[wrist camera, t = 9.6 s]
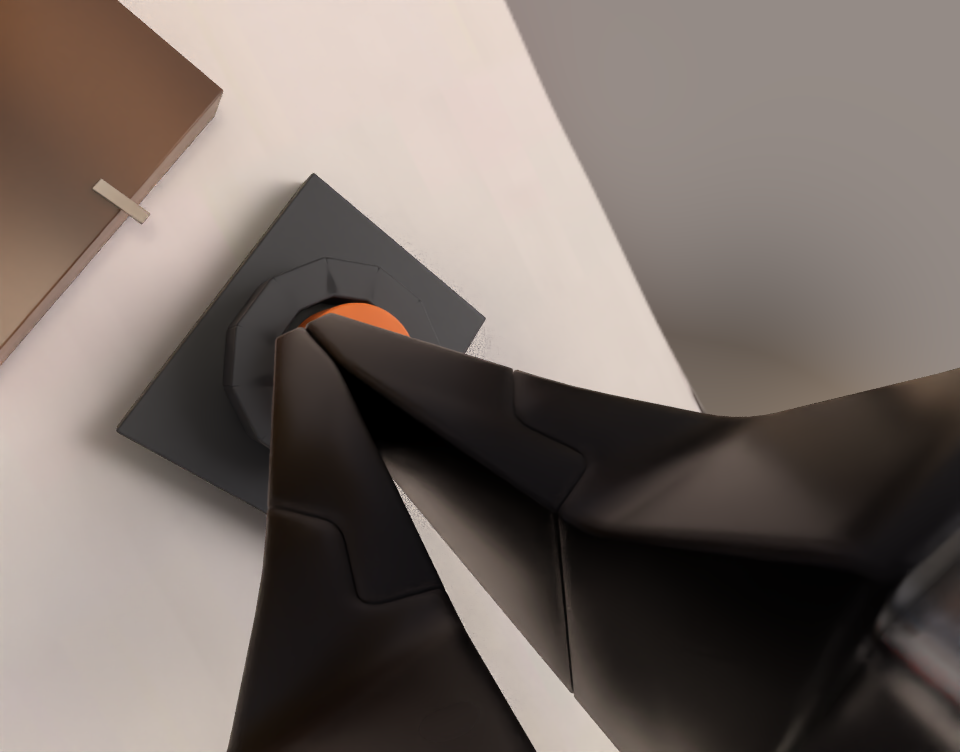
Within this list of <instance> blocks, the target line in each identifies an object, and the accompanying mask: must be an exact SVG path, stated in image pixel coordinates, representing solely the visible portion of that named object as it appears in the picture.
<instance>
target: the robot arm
mask: <svg viewBox="0 0 960 752" xmlns="http://www.w3.org/2000/svg"><path fill="white" fill-rule="evenodd" d="M392 478H393V479H394V481H395V482H396V483H397V484H398V486H399V487H400V488H401V489H402V490H403V492H404V493H405V494H406V495H407V496H408V498H409V499H410V500H411V501H412V502H413V504H414V505H415V506H416V507H417V508H418V510H419V511H420V512H421V513H422V514H423V516H424V517H425V518H426V519H427V520H428V522H429V523H430V524H431V525H432V526H433V528H434V529H435V530H436V531H437V532H438V534H439V535H440V536H441V537H442V538H443V540H444V541H445V542H446V543H447V544H448V546H449V547H450V548H451V549H452V550H453V552H454V553H455V554H456V555H457V556H458V558H459V559H460V560H461V561H462V562H463V564H464V565H465V566H466V567H467V568H468V570H469V571H470V572H471V573H472V574H473V576H474V577H475V578H476V579H477V580H478V582H479V583H480V584H481V585H482V586H483V588H484V589H485V590H486V591H487V593H488V594H489V595H490V596H491V597H492V599H493V600H494V601H495V602H496V603H497V605H498V606H499V607H500V608H501V609H502V611H503V612H504V613H505V614H506V615H507V617H508V618H509V619H510V620H511V621H512V623H513V624H514V625H515V626H516V627H517V629H518V630H519V631H520V632H521V633H522V635H523V636H524V637H525V638H526V639H527V641H528V642H529V643H530V644H531V645H532V647H533V648H534V649H535V650H536V651H537V653H538V654H539V655H540V656H541V657H542V659H543V660H544V661H545V662H546V663H547V665H548V666H549V667H550V668H551V669H552V671H553V672H554V673H555V674H556V675H557V677H558V678H559V679H560V680H561V681H562V683H563V684H564V685H565V686H566V687H567V689H568V690H569V691H570V692H571V693H574V697H575V699H576V700H577V701H578V702H579V703H580V705H581V706H582V707H583V708H584V709H585V711H586V712H587V713H588V714H589V715H590V717H591V718H592V719H593V720H594V721H595V723H596V724H597V725H598V726H599V727H600V729H601V730H602V731H603V732H604V733H605V735H606V736H607V737H608V738H609V739H610V741H611V742H612V743H613V744H614V745H615V747H616V748H617V749H618V750H619V751H620V752H960V368H957V369H953V370H949V371H946V372H942V373H939V374H934V375H930V376H926V377H922V378H918V379H914V380H909V381H905V382H901V383H897V384H893V385H889V386H885V387H881V388H876V389H872V390H868V391H864V392H860V393H856V394H852V395H847V396H843V397H839V398H835V399H831V400H827V401H823V402H819V403H814V404H810V405H806V406H802V407H798V408H794V409H790V410H786V411H781V412H777V413H773V414H768V415H762V416H752V417H728V416H716V415H710V414H704V413H699V412H694V411H689V410H684V409H679V408H674V407H669V406H664V405H659V404H654V403H649V402H644V401H639V400H634V399H629V398H625V397H620V396H615V395H610V394H605V393H601V392H597V391H592V390H588V389H583V388H579V387H575V386H571V385H567V384H564V383H560V382H556V381H553V380H549V379H546V378H542V377H539V376H535V375H532V374H529V373H526V372H522V371H519V370H515V371H514V372H513V369H512V368H509V367H506V366H502V365H499V364H496V363H493V362H490V361H486V360H483V359H480V358H477V357H473V356H470V355H467V354H464V353H460V352H457V351H454V350H451V349H448V348H444V347H441V346H438V345H435V344H431V343H428V342H425V341H422V340H419V339H415V338H412V337H409V336H406V335H402V334H399V333H396V332H393V331H390V330H386V329H383V328H380V327H377V326H373V325H370V324H367V323H364V322H361V321H357V320H354V319H351V318H348V317H344V316H341V315H338V314H335V313H328V314H325V315H323V316H321V317H319V318H317V319H315V320H313V321H311V322H309V323H307V324H306V327H305V328H303V327H298V328H296V329H294V330H292V331H289V332H287V333H285V334H283V335H281V336H279V337H277V338H276V340H275V352H274V374H273V395H272V416H271V438H270V459H269V480H268V502H267V506H268V510H267V516H266V536H265V547H264V558H263V569H262V577H261V583H260V588H259V594H258V600H257V606H256V612H255V618H254V623H253V628H252V633H251V638H250V643H249V648H248V652H247V657H246V662H245V667H244V672H243V677H242V682H241V687H240V692H239V697H238V702H237V707H236V712H235V717H234V722H233V727H232V731H231V736H230V740H229V745H228V749H227V752H536V750H535V749H534V747H533V745H532V743H531V742H530V740H529V738H528V737H527V735H526V733H525V731H524V730H523V728H522V726H521V725H520V723H519V721H518V720H517V718H516V716H515V714H514V713H513V711H512V709H511V708H510V706H509V704H508V702H507V701H506V699H505V697H504V696H503V694H502V692H501V691H500V689H499V687H498V685H497V684H496V682H495V680H494V679H493V677H492V675H491V673H490V672H489V670H488V668H487V667H486V665H485V663H484V662H483V660H482V658H481V656H480V655H479V653H478V651H477V650H476V648H475V646H474V644H473V643H472V641H471V639H470V637H469V636H468V634H467V632H466V630H465V628H464V626H463V624H462V622H461V620H460V618H459V616H458V615H457V613H456V610H455V608H454V606H453V604H452V602H451V600H450V598H449V596H448V594H447V593H446V591H445V588H444V586H443V584H442V582H441V579H440V577H439V575H438V573H437V571H436V569H435V567H434V565H433V563H432V561H431V559H430V557H429V554H428V552H427V550H426V548H425V546H424V544H423V542H422V540H421V538H420V536H419V534H418V531H417V529H416V527H415V525H414V523H413V521H412V519H411V517H410V515H409V513H408V511H407V509H406V506H405V504H404V502H403V500H402V498H401V496H400V494H399V492H398V490H397V488H396V486H395V483H394V481H393V479H392Z"/></svg>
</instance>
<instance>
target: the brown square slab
mask: <svg viewBox="0 0 960 752" xmlns="http://www.w3.org/2000/svg"><path fill="white" fill-rule="evenodd" d="M222 94H223V90H222V89H221V88H220V87H219V86H218V85H216V84H215V83H214V82H213V81H212V80H211V79H209V78H208V77H207V76H206V75H205V74H204V73H202V72H201V71H200V70H199V69H198V68H196V67H195V66H194V65H193V64H192V63H191V62H189V61H188V60H187V59H186V58H185V57H184V56H182V55H181V54H180V53H179V52H178V51H176V50H175V49H174V48H173V47H172V46H171V45H169V44H168V43H167V42H166V41H165V40H163V39H162V38H161V37H160V36H159V35H158V34H156V33H155V32H154V31H153V30H152V29H151V28H149V27H148V26H147V25H146V24H145V23H143V22H142V21H141V20H140V19H139V18H138V17H136V16H135V15H134V14H133V13H132V12H131V11H129V10H128V9H127V8H126V7H125V6H123V5H122V4H121V3H120V2H119V1H118V0H0V366H1V365H2V363H3V362H4V361H5V360H6V359H7V358H8V356H9V355H10V354H11V353H12V352H13V351H14V349H15V348H16V347H17V346H18V345H19V344H20V342H21V341H22V340H23V339H24V338H25V337H26V335H27V334H28V333H29V332H30V331H31V330H32V328H33V327H34V326H35V325H36V324H37V323H38V321H39V320H40V319H41V318H42V317H43V316H44V314H45V313H46V312H47V311H48V310H49V309H50V307H51V306H52V305H53V304H54V303H55V302H56V300H57V299H58V298H59V297H60V296H61V295H62V293H63V292H64V291H65V290H66V289H67V288H68V286H69V285H70V284H71V283H72V282H73V281H74V279H75V278H76V277H77V276H78V275H79V273H80V272H81V271H82V270H83V269H84V268H85V266H86V265H87V264H88V263H89V262H90V261H91V259H92V258H93V257H94V256H95V255H96V254H97V252H98V251H99V250H100V249H101V248H102V247H103V245H104V244H105V243H106V242H107V241H108V240H109V238H110V237H111V236H112V235H113V234H114V233H115V231H116V230H117V229H118V228H119V227H120V226H121V224H122V223H123V222H124V221H125V220H126V219H127V217H128V216H130V217H132V218H133V219H135V220H136V221H138V222H139V223H140V224H143V223H144V221H145V220H146V219H147V218H148V217H149V215H150V213H149V212H147V211H146V210H144V209H143V208H142V207H140V206H139V203H140V202H141V201H142V200H143V199H144V198H145V196H146V195H147V194H148V193H149V192H150V191H151V189H152V188H153V187H154V186H155V185H156V184H157V182H158V181H159V180H160V179H161V178H162V177H163V175H164V174H165V173H166V172H167V171H168V170H169V168H170V167H171V166H172V165H173V164H174V163H175V161H176V160H177V159H178V158H179V157H180V156H181V154H182V153H183V152H184V151H185V150H186V149H187V147H188V146H189V145H190V144H191V143H192V142H193V140H194V139H195V138H196V137H197V136H198V135H199V133H200V132H201V131H202V130H203V129H204V128H205V126H206V125H207V124H208V123H209V122H210V121H211V119H212V118H213V117H214V116H215V113H216V111H217V108H218V105H219V102H220V99H221V97H222Z"/></svg>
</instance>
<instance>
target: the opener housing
mask: <svg viewBox="0 0 960 752" xmlns="http://www.w3.org/2000/svg"><path fill="white" fill-rule="evenodd" d="M346 303H366V304H371V305H374V306H377V307H380V308H381V309H383V310H385V311H387V312H389V313H390V314H391V315H393V316H394V317H395V318H396V319H397V320H398V321H399V322H400V323H401V324H402V325H403V326H404V328H405V329H406V331H407V332H408V334H409V336H410V337H412V338H415V339H419V340H422V341H425V342H428V343H431V344H435V345H438V346H441V347H444V348H448V349H451V350H454V351H457V352H460V353H464V354H465V352H466V351H467V349H468V347H469V346H470V344H471V342H472V341H473V339H474V337H475V336H476V334H477V332H478V331H479V329H480V327H481V326H482V324H483V322H484V321H485V319H486V318H485V317H484V316H483V315H482V314H480V313H479V312H478V311H477V310H476V309H475V308H473V307H472V306H471V305H470V304H469V303H467V302H466V301H465V300H464V299H463V298H462V297H460V296H459V295H458V294H457V293H456V292H454V291H453V290H452V289H451V288H450V287H448V286H447V285H446V284H445V283H444V282H443V281H441V280H440V279H439V278H438V277H437V276H435V275H434V274H433V273H432V272H431V271H430V270H428V269H427V268H426V267H425V266H424V265H422V264H421V263H420V262H419V261H418V260H417V259H415V258H414V257H413V256H412V255H411V254H409V253H408V252H407V251H406V250H405V249H404V248H402V247H401V246H400V245H399V244H398V243H396V242H395V241H394V240H393V239H392V238H390V237H389V236H388V235H387V234H386V233H385V232H383V231H382V230H381V229H380V228H379V227H377V226H376V225H375V224H374V223H373V222H372V221H370V220H369V219H368V218H367V217H366V216H364V215H363V214H362V213H361V212H360V211H359V210H357V209H356V208H355V207H354V206H353V205H351V204H350V203H349V202H348V201H347V200H345V199H344V198H343V197H342V196H341V195H340V194H338V193H337V192H336V191H335V190H334V189H332V188H331V187H330V186H329V185H328V184H327V183H325V182H324V181H323V180H322V179H321V178H319V177H318V176H317V175H316V174H314V173H313V174H311V175H310V176H309V177H308V179H307V180H306V181H305V182H304V183H303V184H302V185H301V187H300V188H299V189H298V191H297V192H296V193H295V195H294V196H293V197H292V198H291V200H290V201H289V202H288V204H287V205H286V206H285V208H284V209H283V210H282V212H281V213H280V214H279V215H278V217H277V218H276V219H275V221H274V222H273V223H272V225H271V226H270V227H269V228H268V230H267V231H266V232H265V234H264V235H263V236H262V238H261V239H260V240H259V242H258V243H257V244H256V245H255V247H254V248H253V249H252V251H251V252H250V253H249V255H248V256H247V257H246V258H245V260H244V261H243V262H242V264H241V265H240V266H239V268H238V269H237V270H236V272H235V273H234V274H233V275H232V277H231V278H230V279H229V281H228V282H227V283H226V285H225V286H224V287H223V289H222V290H221V291H220V292H219V294H218V295H217V296H216V298H215V299H214V300H213V302H212V303H211V304H210V305H209V307H208V308H207V309H206V311H205V312H204V313H203V315H202V316H201V317H200V319H199V320H198V321H197V322H196V324H195V325H194V326H193V328H192V329H191V330H190V332H189V333H188V334H187V335H186V337H185V338H184V339H183V341H182V342H181V343H180V345H179V346H178V347H177V349H176V350H175V351H174V352H173V354H172V355H171V356H170V358H169V359H168V360H167V362H166V363H165V364H164V366H163V367H162V368H161V369H160V371H159V372H158V373H157V375H156V376H155V377H154V379H153V380H152V381H151V382H150V384H149V385H148V386H147V388H146V389H145V390H144V392H143V393H142V394H141V396H140V397H139V398H138V399H137V401H136V402H135V403H134V405H133V406H132V407H131V409H130V410H129V411H128V412H127V414H126V415H125V416H124V418H123V419H122V420H121V422H120V423H119V424H118V426H117V428H116V431H117V432H118V433H119V434H121V435H123V436H125V437H127V438H129V439H130V440H132V441H134V442H136V443H138V444H140V445H141V446H143V447H145V448H147V449H149V450H150V451H152V452H154V453H156V454H158V455H160V456H161V457H163V458H165V459H167V460H169V461H171V462H172V463H174V464H176V465H178V466H180V467H182V468H183V469H185V470H187V471H189V472H191V473H193V474H194V475H196V476H198V477H200V478H202V479H204V480H205V481H207V482H209V483H211V484H213V485H214V486H216V487H218V488H220V489H222V490H224V491H225V492H227V493H229V494H231V495H233V496H235V497H236V498H238V499H240V500H242V501H244V502H246V503H247V504H249V505H251V506H253V507H255V508H257V509H258V510H260V511H262V512H264V513H266V514H267V510H268V506H267V502H268V480H269V459H270V438H271V416H272V395H273V374H274V352H275V340H276V338H277V337H279V336H281V335H283V334H285V333H287V332H289V331H292V330H294V329H296V328H297V327H298V326H299V325H300V324H301V323H302V322H303V321H304V320H306V319H307V318H308V317H310V316H311V315H313V314H315V313H317V312H320V311H323V310H326V309H329V308H332V307H335V306H338V305H341V304H346Z"/></svg>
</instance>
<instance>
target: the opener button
mask: <svg viewBox="0 0 960 752" xmlns="http://www.w3.org/2000/svg"><path fill="white" fill-rule="evenodd" d="M328 313H335V314H338V315H341V316H344V317H348V318H351V319H354V320H357V321H361V322H364V323H367V324H370V325H373V326H377V327H380V328H383V329H386V330H390V331H393V332H396V333H399V334H402V335H406V336H409V334H408V332H407V331H406V329H405V328H404V326H403V325H402V324H401V323H400V322H399V321H398V320H397V319H396V318H395V317H394V316H393V315H391V314H390V313H389V312H387V311H385V310H383V309H381V308H380V307H377V306H374V305H371V304H366V303H346V304H341V305H338V306H335V307H332V308H329V309H326V310H323V311H320V312H317V313H315V314H313V315H311V316H310V317H308V318H307V319H306V320H304V321H303V322H302V323H301V324H300V325H299V326H298V327H303V328H305V327H306V324H307V323H309V322H311V321H313V320H315V319H317V318H319V317H321V316H323V315H325V314H328ZM298 327H297V328H298ZM409 337H410V336H409Z"/></svg>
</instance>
